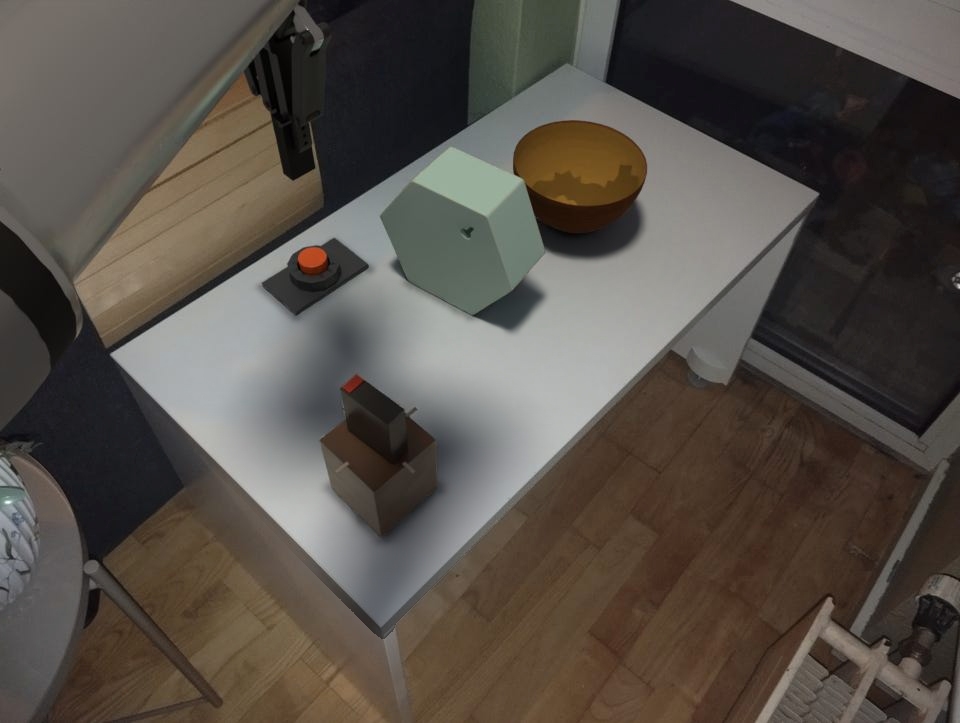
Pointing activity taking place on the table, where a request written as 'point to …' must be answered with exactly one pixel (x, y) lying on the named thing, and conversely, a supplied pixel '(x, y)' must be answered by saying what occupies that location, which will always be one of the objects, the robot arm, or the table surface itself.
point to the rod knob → (374, 418)
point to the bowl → (579, 174)
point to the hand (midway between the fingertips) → (299, 170)
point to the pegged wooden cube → (381, 474)
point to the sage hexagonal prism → (464, 231)
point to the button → (313, 261)
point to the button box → (314, 277)
